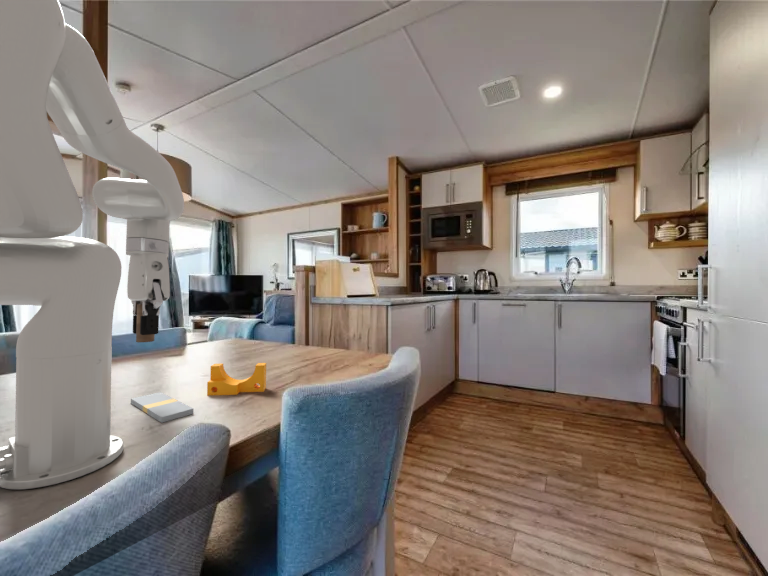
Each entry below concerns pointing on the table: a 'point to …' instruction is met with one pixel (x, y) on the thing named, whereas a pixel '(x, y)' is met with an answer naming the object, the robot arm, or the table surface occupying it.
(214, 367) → the pipe clamp
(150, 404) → the board
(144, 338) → the peg
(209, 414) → the table surface
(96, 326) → the robot arm
